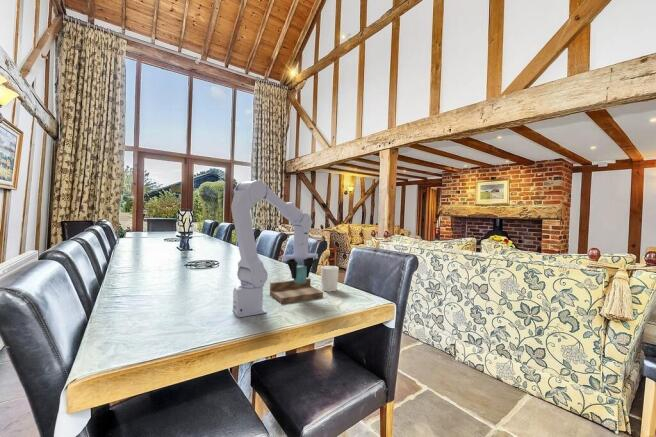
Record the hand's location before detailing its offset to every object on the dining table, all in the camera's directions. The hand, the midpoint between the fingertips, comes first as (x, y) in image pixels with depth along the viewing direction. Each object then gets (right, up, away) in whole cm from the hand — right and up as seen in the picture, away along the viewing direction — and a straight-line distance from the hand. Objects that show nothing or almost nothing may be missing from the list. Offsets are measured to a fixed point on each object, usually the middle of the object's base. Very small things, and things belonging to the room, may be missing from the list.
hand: (300, 277), depth 112 cm
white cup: (+12, -8, +13) cm, 20 cm away
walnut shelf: (-2, -8, +3) cm, 9 cm away
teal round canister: (0, -2, 0) cm, 2 cm away
